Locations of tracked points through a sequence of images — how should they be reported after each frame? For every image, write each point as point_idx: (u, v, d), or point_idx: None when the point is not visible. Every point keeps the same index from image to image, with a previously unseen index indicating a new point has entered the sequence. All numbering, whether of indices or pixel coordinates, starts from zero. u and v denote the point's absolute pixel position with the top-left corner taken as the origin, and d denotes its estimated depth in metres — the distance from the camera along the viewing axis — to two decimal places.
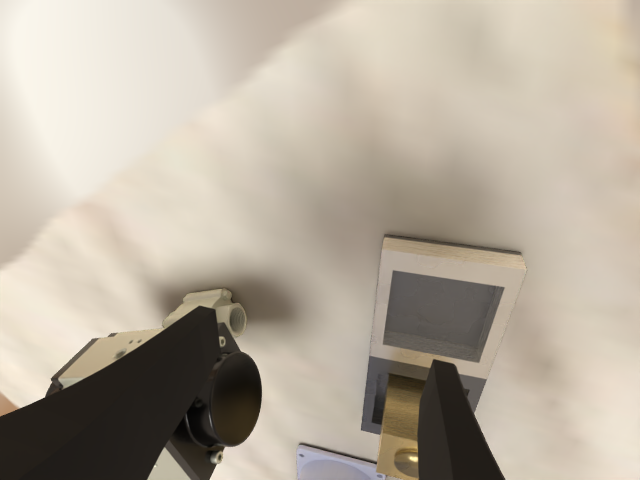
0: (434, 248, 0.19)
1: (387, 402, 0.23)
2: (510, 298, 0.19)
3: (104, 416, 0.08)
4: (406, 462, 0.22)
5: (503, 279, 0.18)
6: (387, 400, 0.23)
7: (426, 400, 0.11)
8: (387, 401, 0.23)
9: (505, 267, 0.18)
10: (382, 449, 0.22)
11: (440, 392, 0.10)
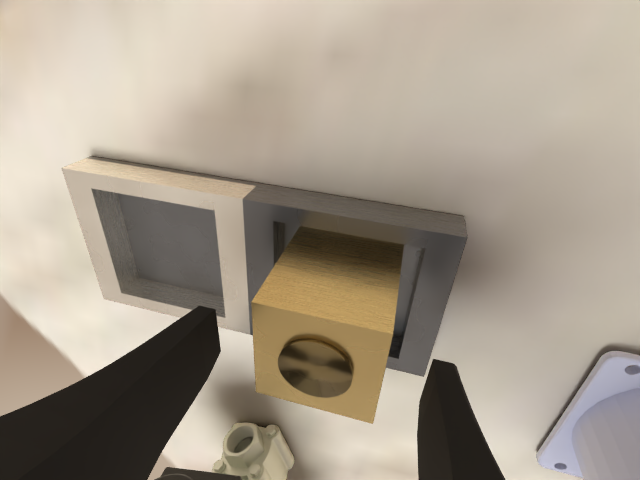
0: None
1: None
2: (101, 181, 0.15)
3: (104, 416, 0.08)
4: (308, 380, 0.12)
5: (83, 190, 0.15)
6: None
7: (426, 400, 0.11)
8: None
9: (70, 189, 0.16)
10: (297, 400, 0.13)
11: (440, 392, 0.10)
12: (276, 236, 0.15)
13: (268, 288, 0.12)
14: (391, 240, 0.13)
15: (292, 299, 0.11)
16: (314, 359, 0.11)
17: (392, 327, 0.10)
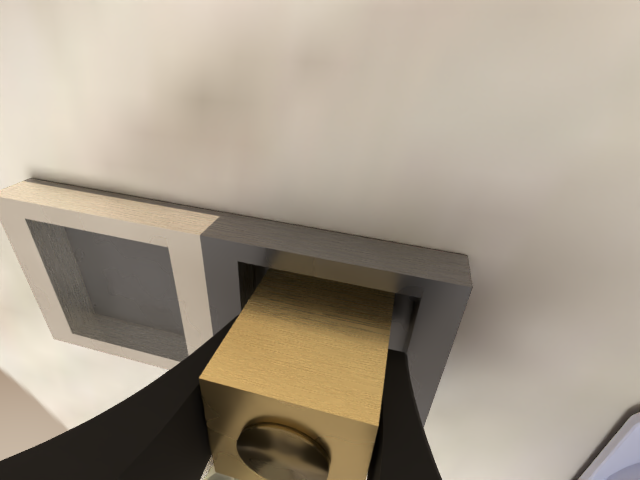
0: None
1: None
2: (35, 210, 0.13)
3: (162, 434, 0.08)
4: (275, 469, 0.09)
5: (16, 220, 0.13)
6: None
7: None
8: None
9: (1, 219, 0.13)
10: None
11: (385, 378, 0.10)
12: (243, 277, 0.12)
13: (223, 356, 0.09)
14: (379, 287, 0.11)
15: (252, 373, 0.09)
16: (280, 448, 0.09)
17: (378, 415, 0.08)
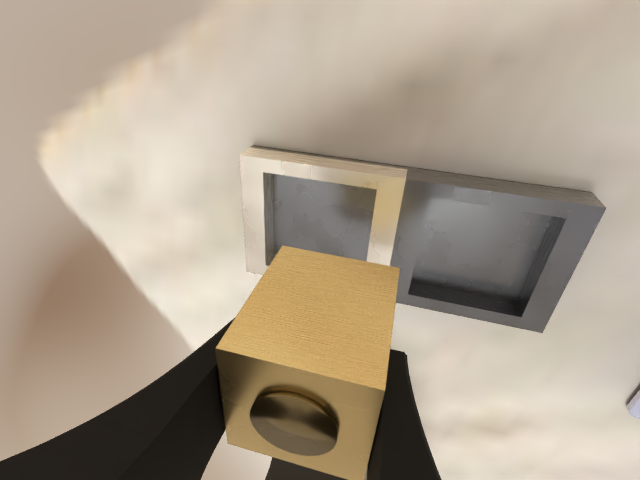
0: None
1: None
2: (275, 165, 0.18)
3: (162, 434, 0.08)
4: (286, 437, 0.10)
5: (254, 174, 0.18)
6: None
7: None
8: None
9: (241, 173, 0.18)
10: (275, 454, 0.11)
11: None
12: None
13: (238, 329, 0.10)
14: (536, 212, 0.16)
15: (265, 343, 0.09)
16: (292, 415, 0.09)
17: (384, 381, 0.09)
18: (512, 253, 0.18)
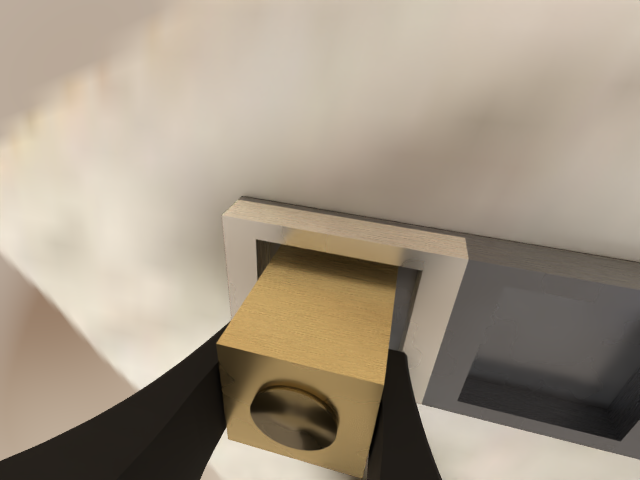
0: None
1: None
2: (273, 231, 0.12)
3: (162, 434, 0.08)
4: (286, 432, 0.10)
5: (243, 241, 0.13)
6: None
7: None
8: None
9: (225, 239, 0.13)
10: (275, 450, 0.11)
11: (385, 379, 0.10)
12: None
13: (238, 325, 0.10)
14: None
15: (265, 339, 0.09)
16: (292, 410, 0.10)
17: (383, 376, 0.09)
18: (609, 353, 0.13)
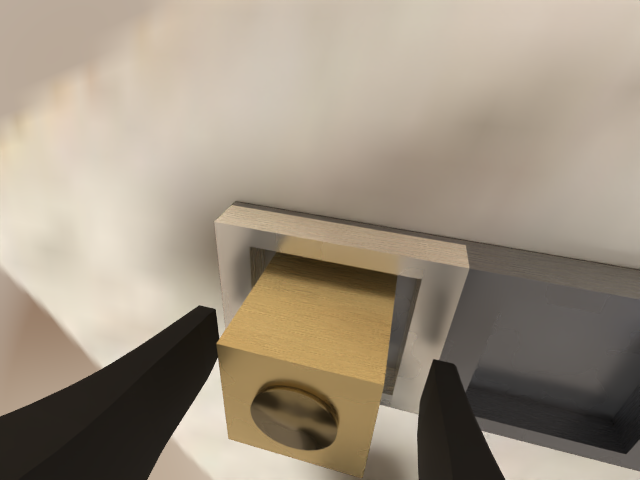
0: None
1: None
2: (267, 238, 0.12)
3: (104, 416, 0.08)
4: (286, 431, 0.10)
5: (237, 248, 0.12)
6: None
7: (426, 400, 0.11)
8: None
9: (218, 246, 0.13)
10: (275, 449, 0.11)
11: (440, 392, 0.10)
12: None
13: (238, 325, 0.10)
14: None
15: (266, 339, 0.09)
16: (292, 410, 0.10)
17: (383, 376, 0.09)
18: (614, 363, 0.12)
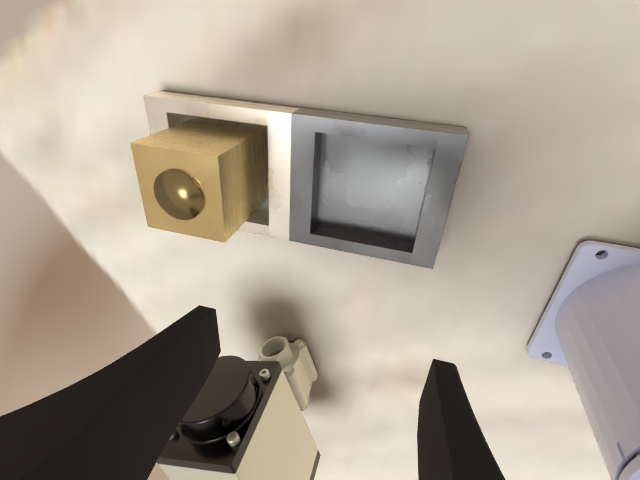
0: None
1: None
2: (176, 104, 0.19)
3: (104, 416, 0.08)
4: (175, 205, 0.17)
5: (159, 114, 0.19)
6: None
7: (426, 400, 0.11)
8: None
9: (148, 114, 0.19)
10: (175, 229, 0.18)
11: (440, 392, 0.10)
12: (316, 147, 0.18)
13: (146, 139, 0.17)
14: (409, 142, 0.17)
15: (159, 143, 0.16)
16: (175, 185, 0.16)
17: (219, 154, 0.15)
18: (403, 191, 0.19)
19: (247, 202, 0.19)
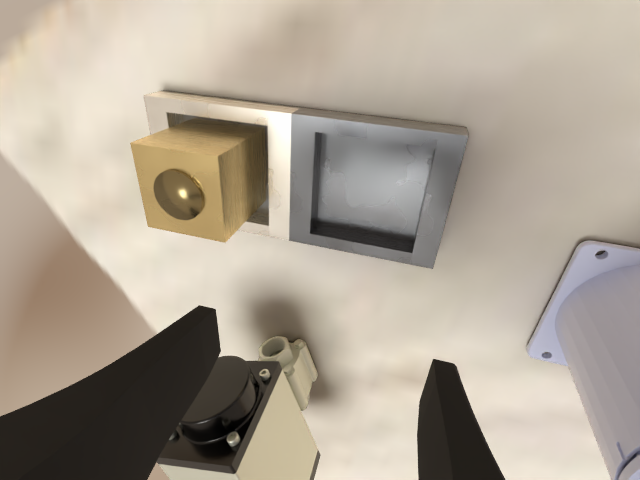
0: None
1: None
2: (176, 104, 0.19)
3: (104, 416, 0.08)
4: (175, 205, 0.17)
5: (159, 114, 0.19)
6: None
7: (426, 400, 0.11)
8: None
9: (148, 114, 0.19)
10: (175, 229, 0.18)
11: (440, 392, 0.10)
12: (316, 147, 0.18)
13: (146, 139, 0.17)
14: (409, 142, 0.17)
15: (159, 143, 0.16)
16: (175, 185, 0.16)
17: (219, 154, 0.15)
18: (403, 191, 0.19)
19: (247, 202, 0.19)
